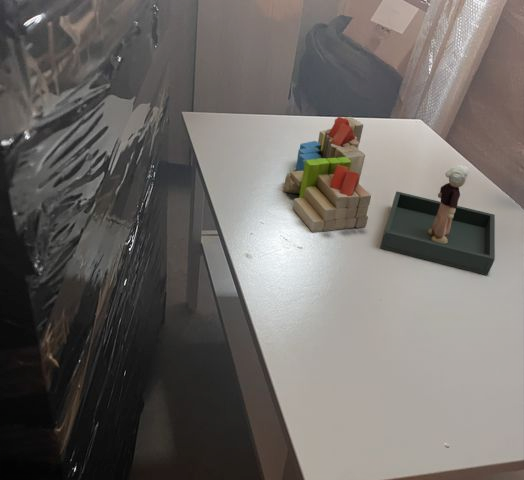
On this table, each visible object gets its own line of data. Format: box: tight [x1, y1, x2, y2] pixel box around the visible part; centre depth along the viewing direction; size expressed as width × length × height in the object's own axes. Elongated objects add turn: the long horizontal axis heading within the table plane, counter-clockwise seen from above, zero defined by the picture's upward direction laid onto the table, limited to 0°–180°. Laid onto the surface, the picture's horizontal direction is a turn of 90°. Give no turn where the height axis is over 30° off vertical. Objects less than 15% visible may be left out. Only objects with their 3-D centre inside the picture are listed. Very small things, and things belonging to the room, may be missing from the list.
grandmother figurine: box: [428, 164, 469, 244], centre depth 95 cm, size 8×4×13 cm, turn 12°
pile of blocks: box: [282, 116, 372, 233], centre depth 107 cm, size 36×15×11 cm, turn 177°
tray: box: [379, 190, 496, 276], centre depth 99 cm, size 18×16×3 cm
